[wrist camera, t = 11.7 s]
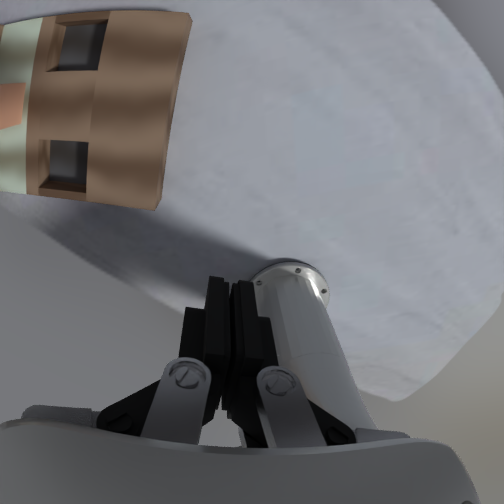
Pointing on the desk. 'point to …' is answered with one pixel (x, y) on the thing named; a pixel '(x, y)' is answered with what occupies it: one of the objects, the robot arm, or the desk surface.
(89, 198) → the box
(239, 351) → the robot arm
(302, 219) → the desk surface
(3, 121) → the block
